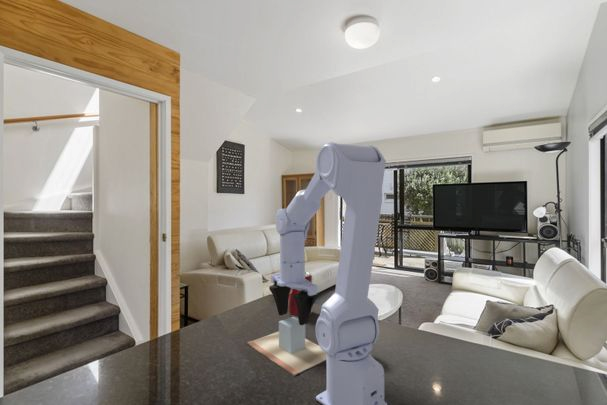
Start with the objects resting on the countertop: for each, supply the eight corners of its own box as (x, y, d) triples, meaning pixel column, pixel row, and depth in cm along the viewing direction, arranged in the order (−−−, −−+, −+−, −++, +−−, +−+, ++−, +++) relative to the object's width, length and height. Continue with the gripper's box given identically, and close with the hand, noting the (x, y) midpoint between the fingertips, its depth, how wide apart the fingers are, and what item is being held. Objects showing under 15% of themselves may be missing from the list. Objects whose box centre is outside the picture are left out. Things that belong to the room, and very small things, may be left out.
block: (305, 347, 73) (305, 322, 72) (290, 353, 70) (290, 327, 70) (293, 341, 76) (293, 316, 76) (278, 346, 73) (278, 321, 73)
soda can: (284, 316, 92) (284, 276, 91) (292, 308, 99) (292, 270, 98) (308, 319, 90) (308, 278, 89) (314, 310, 96) (314, 272, 96)
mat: (335, 355, 69) (335, 353, 69) (294, 375, 62) (294, 374, 61) (286, 329, 83) (286, 328, 83) (246, 343, 75) (246, 342, 75)
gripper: (260, 258, 75) (261, 314, 76) (299, 268, 64) (300, 334, 65) (283, 254, 80) (284, 307, 80) (323, 263, 69) (324, 324, 69)
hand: (292, 318), depth 73 cm, fingers open, 7 cm apart
